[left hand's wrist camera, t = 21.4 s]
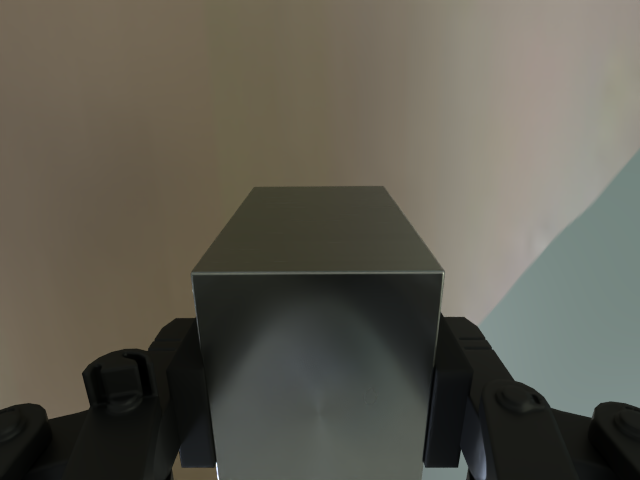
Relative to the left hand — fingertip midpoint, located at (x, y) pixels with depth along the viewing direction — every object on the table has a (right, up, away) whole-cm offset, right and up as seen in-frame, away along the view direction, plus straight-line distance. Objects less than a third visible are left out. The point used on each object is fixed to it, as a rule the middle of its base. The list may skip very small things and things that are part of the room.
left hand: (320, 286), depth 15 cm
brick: (0, 0, +1) cm, 1 cm away
